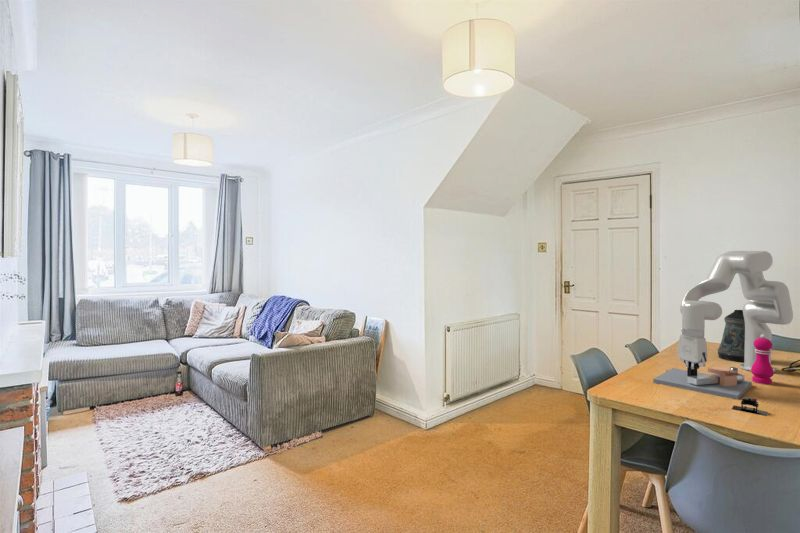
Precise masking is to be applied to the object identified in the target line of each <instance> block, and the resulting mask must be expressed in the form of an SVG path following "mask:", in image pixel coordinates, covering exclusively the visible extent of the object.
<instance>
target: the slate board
mask: <svg viewBox="0 0 800 533" xmlns="http://www.w3.org/2000/svg"><path fill="white" fill-rule="evenodd" d="M710 374H711V373H705V372H704V373H703V372H699V371H697V375H710ZM652 382H653V384H654V383H655V384H659V385H664V386H669V387H674V388H678V389H682V390H688V391H693V392H699V393H703V394H707V395H712V396H718V397H723V398H729V399H733V400H739V399H740V398H741V397H742V396H743V395H744V394H745V393H746V392H747V391H748V390H749V389H750V388H751V387H752V383H753V381H750V380H745V379H744V381H743V382H737V385H735V386H722V385H720V383H716V384H704V385H695V384H691V383H688V382H687V369H686V370H685V369H679V368H674V367H673V368H671V369H669V370H667V371H665V372H663V373H661V374H659V375H658V376H656V377H654V378H653V379H652ZM750 386H751V387H750Z"/></svg>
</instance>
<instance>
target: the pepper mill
mask: <svg viewBox="0 0 800 533" xmlns="http://www.w3.org/2000/svg"><path fill="white" fill-rule="evenodd" d="M760 337H761V338H758V339H756V340H755V341H754V346H755V348H756V349H755V353H756V360H755V362H754V364H753V365H752V368H751V371H750V372H751V374H752V375H753V376H752V377H751V380H752V381H751V382H752V383H756V384H757V383H758V384H762V385H771V384H772V383H773V379H772V377H773V376H774V374H775V372H773V368H774V367H772V363H771V364H770V362H769V354H771V355H772V348H773V342H772V340H771V341H770V340H768V339H766V336H765V335H764V334H762V335H761V336H760ZM770 349H771V351H770ZM770 352H771V353H770Z"/></svg>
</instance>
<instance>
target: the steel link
mask: <svg viewBox="0 0 800 533" xmlns="http://www.w3.org/2000/svg"><path fill="white" fill-rule="evenodd" d="M729 370H732V371H736V372H737V382H743V381H744V380H745V376H746V375H744V374H742V373H738V372H739V371H738V370H739V369H738V367H734V366H730V368H729ZM709 374H710V375H697V376H688V377H687V382H688V383H691V384H695V385H704V384H716V383H720V375H718V374H715V373H712V374H711V373H709Z"/></svg>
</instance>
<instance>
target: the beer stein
mask: <svg viewBox="0 0 800 533" xmlns="http://www.w3.org/2000/svg"><path fill="white" fill-rule="evenodd" d="M723 319H724V322H725V325H724V330H723V333H722V338H721V341H720V343H719V346H718V349H717V355H718V356H717V357H718V358H719V359H721V360H724V361H729V362H735V363H741V364H744V350H745V321H744V316H743V309H734V310H733V312H731V313H729V314H727V315H726V316H725V317H724V318H723Z"/></svg>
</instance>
